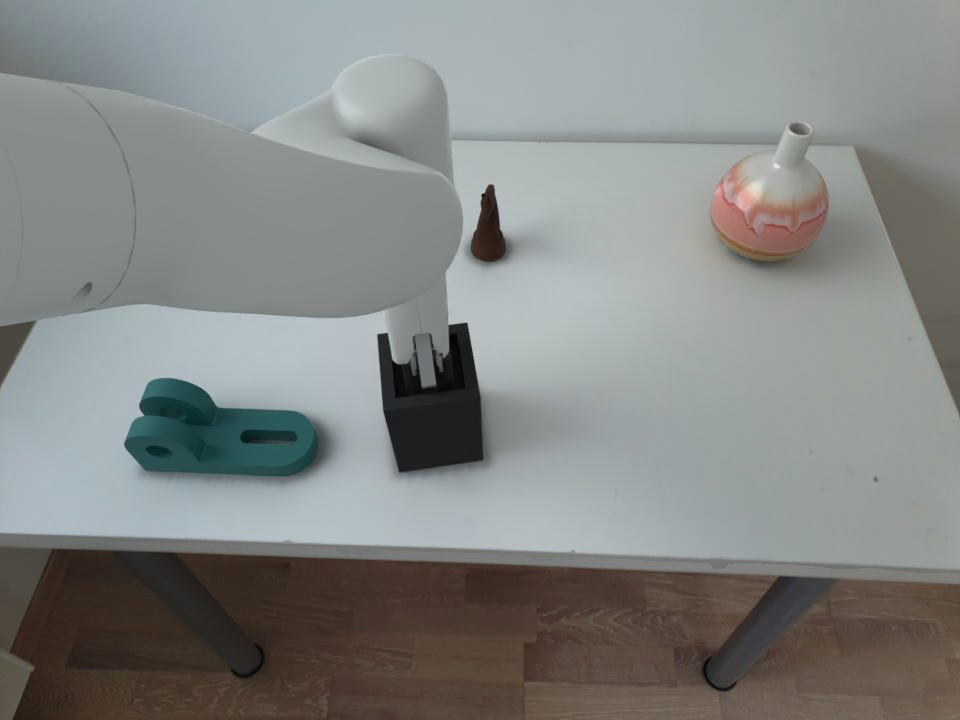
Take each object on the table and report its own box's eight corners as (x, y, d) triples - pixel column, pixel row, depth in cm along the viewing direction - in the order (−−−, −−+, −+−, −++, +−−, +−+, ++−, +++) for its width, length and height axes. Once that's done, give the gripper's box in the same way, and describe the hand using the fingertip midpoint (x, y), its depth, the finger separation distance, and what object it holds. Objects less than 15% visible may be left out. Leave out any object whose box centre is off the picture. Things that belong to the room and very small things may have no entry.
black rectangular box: (399, 472, 75) (383, 411, 64) (392, 401, 80) (376, 333, 70) (483, 460, 75) (480, 397, 65) (471, 390, 80) (467, 321, 70)
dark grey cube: (406, 390, 66) (401, 365, 63) (402, 351, 69) (397, 326, 66) (454, 383, 67) (451, 359, 63) (448, 345, 69) (445, 320, 66)
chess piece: (466, 258, 92) (463, 200, 84) (477, 231, 95) (475, 172, 87) (500, 265, 91) (500, 206, 83) (510, 237, 94) (511, 178, 86)
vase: (701, 275, 90) (740, 162, 75) (699, 201, 97) (734, 87, 83) (814, 286, 88) (875, 173, 74) (802, 210, 96) (856, 96, 82)
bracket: (145, 470, 75) (112, 434, 69) (165, 416, 79) (135, 376, 73) (311, 477, 74) (293, 441, 68) (323, 422, 78) (307, 382, 72)
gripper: (351, 159, 57) (382, 304, 72) (362, 321, 48) (395, 449, 63) (443, 149, 58) (455, 295, 73) (472, 306, 48) (479, 437, 63)
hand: (427, 365), depth 67 cm, fingers closed on dark grey cube, 4 cm apart
